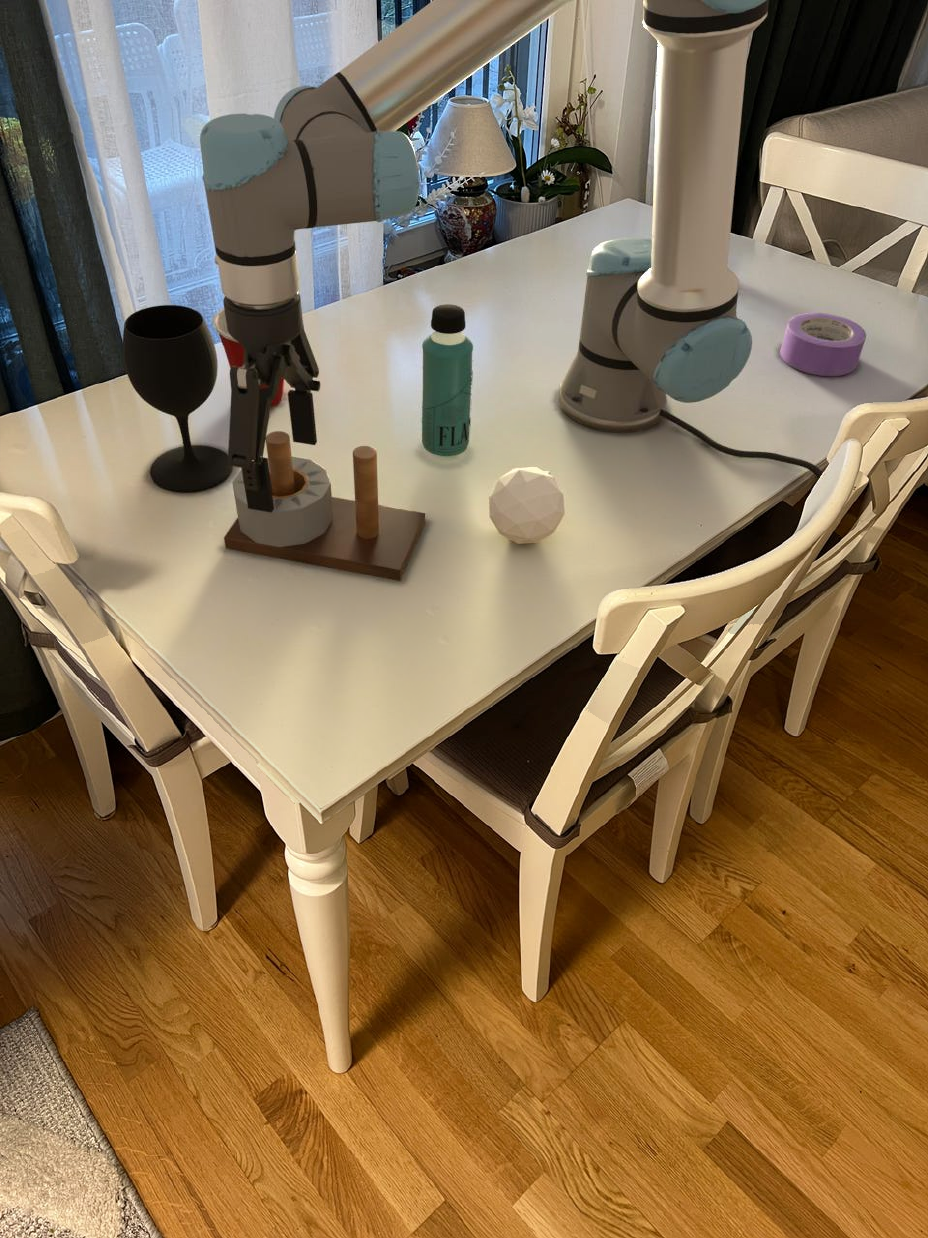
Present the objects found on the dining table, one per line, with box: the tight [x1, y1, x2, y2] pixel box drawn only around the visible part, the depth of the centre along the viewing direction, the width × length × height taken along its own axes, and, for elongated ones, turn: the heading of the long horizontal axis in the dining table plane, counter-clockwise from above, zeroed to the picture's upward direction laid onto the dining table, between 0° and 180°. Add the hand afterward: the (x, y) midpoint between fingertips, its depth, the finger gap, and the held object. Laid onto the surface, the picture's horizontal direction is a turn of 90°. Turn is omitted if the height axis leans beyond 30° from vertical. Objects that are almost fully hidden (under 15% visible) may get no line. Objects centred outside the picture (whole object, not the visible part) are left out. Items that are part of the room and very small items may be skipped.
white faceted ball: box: [488, 466, 566, 545], centre depth 111 cm, size 9×9×12 cm
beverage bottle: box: [420, 303, 474, 457], centre depth 118 cm, size 6×7×20 cm
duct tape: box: [231, 455, 333, 547], centre depth 109 cm, size 11×11×5 cm
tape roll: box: [779, 312, 867, 377], centre depth 147 cm, size 12×12×5 cm
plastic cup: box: [212, 307, 285, 408], centre depth 129 cm, size 11×11×12 cm
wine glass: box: [122, 304, 234, 494], centre depth 113 cm, size 10×10×20 cm
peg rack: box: [223, 430, 427, 581], centre depth 107 cm, size 21×11×13 cm, turn 77°
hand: (284, 474), depth 107 cm, fingers open, 13 cm apart
